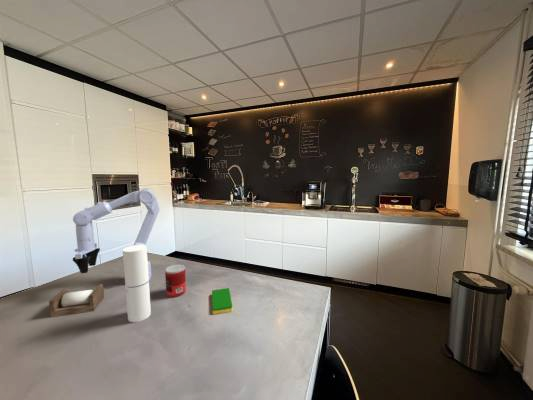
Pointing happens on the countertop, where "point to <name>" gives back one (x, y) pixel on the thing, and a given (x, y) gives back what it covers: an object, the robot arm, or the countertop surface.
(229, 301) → the dish sponge
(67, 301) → the roll
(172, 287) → the canned food
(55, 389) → the countertop surface
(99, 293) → the holder
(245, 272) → the countertop surface
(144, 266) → the cylindrical container
